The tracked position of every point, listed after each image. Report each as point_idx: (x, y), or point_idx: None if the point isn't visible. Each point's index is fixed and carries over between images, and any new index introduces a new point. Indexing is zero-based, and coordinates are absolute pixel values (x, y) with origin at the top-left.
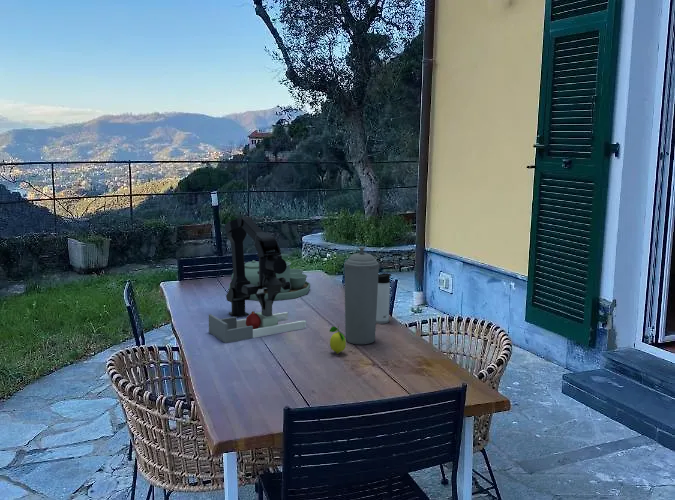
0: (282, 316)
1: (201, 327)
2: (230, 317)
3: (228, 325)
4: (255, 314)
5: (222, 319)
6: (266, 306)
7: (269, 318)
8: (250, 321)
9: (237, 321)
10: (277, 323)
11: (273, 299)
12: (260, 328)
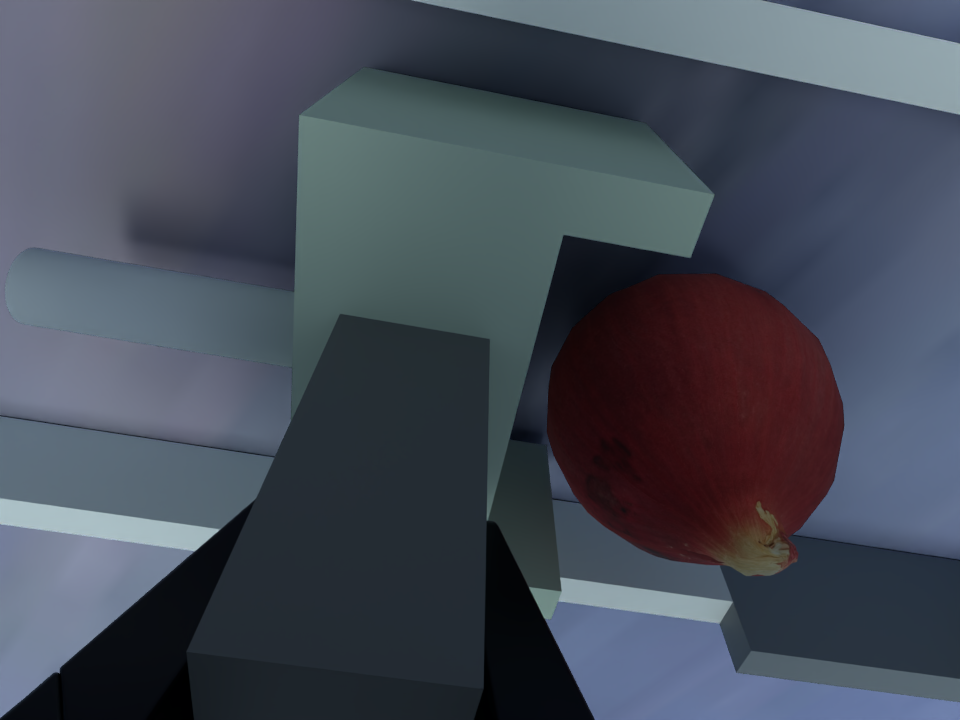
0: (10, 462)
1: (885, 705)
2: (811, 680)
3: (827, 580)
4: (724, 473)
5: (957, 678)
6: (481, 518)
7: (532, 180)
8: (833, 384)
9: (715, 592)
10: (341, 87)
11: (59, 710)
12: (856, 53)
